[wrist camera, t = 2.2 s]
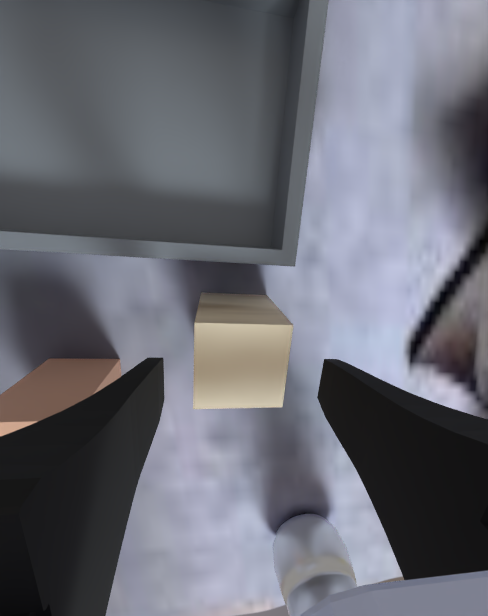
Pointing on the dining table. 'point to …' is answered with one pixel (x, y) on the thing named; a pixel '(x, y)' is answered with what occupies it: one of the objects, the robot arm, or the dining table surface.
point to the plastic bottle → (310, 562)
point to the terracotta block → (54, 390)
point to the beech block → (240, 352)
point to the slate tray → (157, 126)
